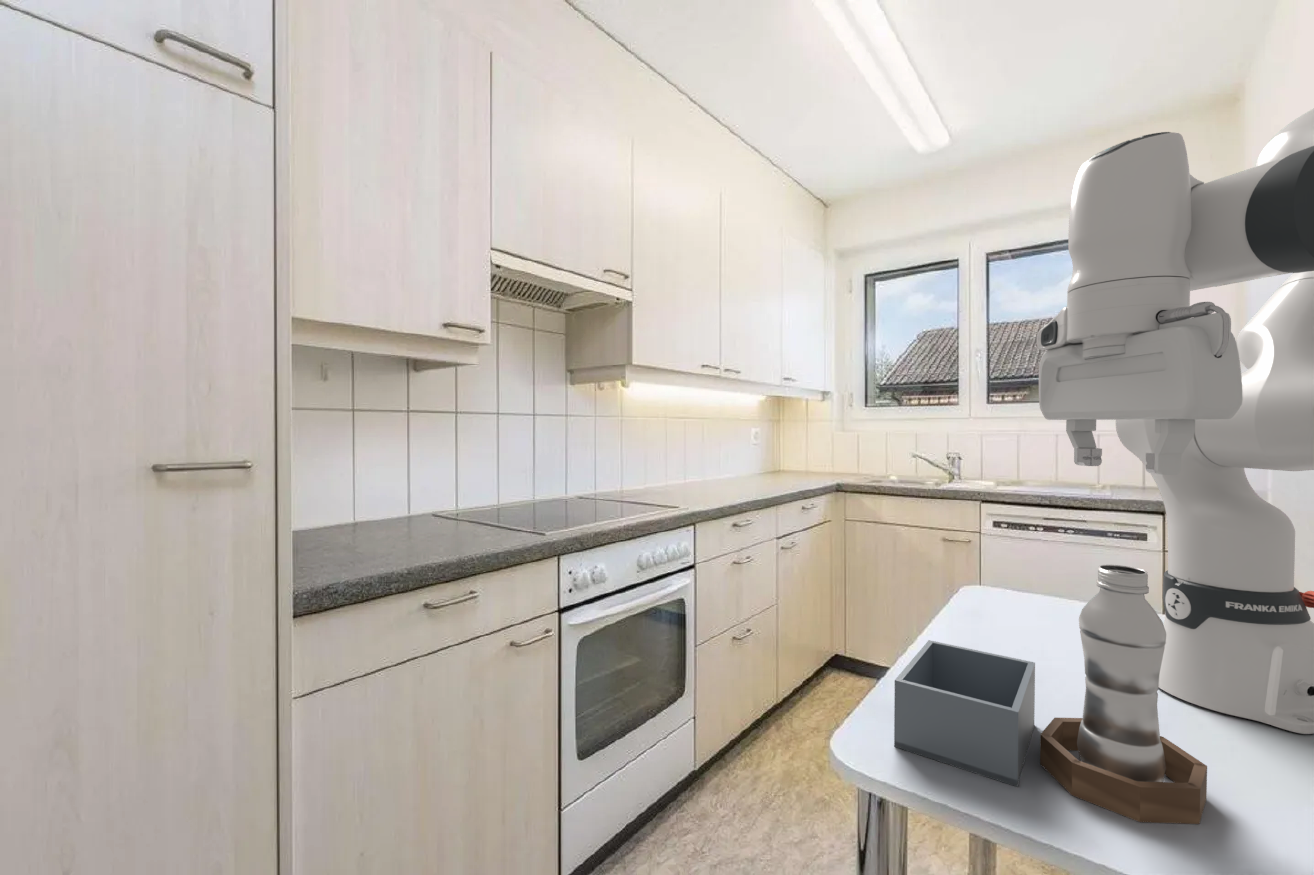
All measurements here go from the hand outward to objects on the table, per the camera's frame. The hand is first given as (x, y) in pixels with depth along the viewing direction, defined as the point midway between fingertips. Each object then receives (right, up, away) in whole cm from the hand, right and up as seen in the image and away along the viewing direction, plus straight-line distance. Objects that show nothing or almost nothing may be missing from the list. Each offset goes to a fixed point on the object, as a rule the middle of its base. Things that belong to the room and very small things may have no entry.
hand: (1121, 469), depth 54 cm
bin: (-10, -29, +9) cm, 32 cm away
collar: (0, -29, +1) cm, 29 cm away
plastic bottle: (0, -30, +1) cm, 30 cm away
